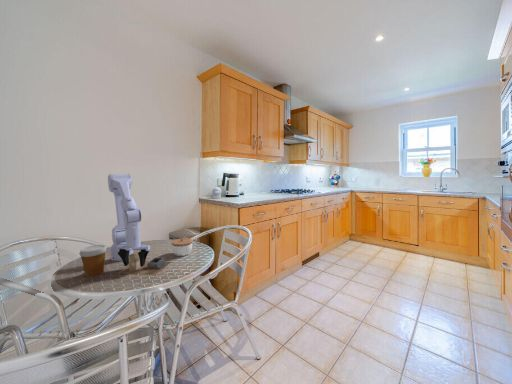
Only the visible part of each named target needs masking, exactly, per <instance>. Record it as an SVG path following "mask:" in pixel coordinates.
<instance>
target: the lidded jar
mask: <svg viewBox="0 0 512 384" xmlns="http://www.w3.org/2000/svg"><path fill="white" fill-rule="evenodd" d="M171 249H172V253H173V254H174V255H175V256H177V257H184V256H187V255H189V254H190V253H191V252H192V249H193V239H191V238H185V237H181V238H178V239H177V238H176V239H175V240H172V241H171Z"/></svg>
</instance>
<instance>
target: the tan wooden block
mask: <svg viewBox="0 0 512 384" xmlns="http://www.w3.org/2000/svg"><path fill="white" fill-rule="evenodd" d="M128 266H129V271H135V270H137V269H138V268H139V267H140V258H139V255H138V252H137V251H136V252H134V251H133V253H132V254H131V255H129V265H128Z"/></svg>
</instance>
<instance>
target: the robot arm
mask: <svg viewBox="0 0 512 384" xmlns="http://www.w3.org/2000/svg"><path fill="white" fill-rule="evenodd" d="M107 184H108V190H109V192H111V193H113V196H114V201H115V202H114V203H115V209H116V210H115V212H116V219H117V220H116V221H117V224H116V225H115V226H114V227H112V230H111V238H112V239H111V240H112V245H111V246H110V261H118V262H122V263H123V266H124V267H128V266H129V255H131V254H132V253H134V251H139V252H138V255H139V258H140V266H141V267H142V266H144V265H145V261H147V256H148V254H149V252H150V250H151V245H148V244H141V241H142V240H141V223H140V222H141V221H142V213H141V209H139V207H138V206H137V204H136V200H135V198H134V197H132V196H131V190H130V189H132V185H133V177H132V175H131V174H130V173H128V174H111V173H110V174H108V175H107Z"/></svg>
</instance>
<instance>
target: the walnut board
mask: <svg viewBox="0 0 512 384" xmlns="http://www.w3.org/2000/svg"><path fill="white" fill-rule="evenodd" d="M149 261H150V260H145V265H144V266H142V267H141V266H140V267H139V268H138V269H137V270H135V271H129V265H127V266H125V268H123V269H121V270H120V271H118V272H116V274H117V275H150V276H153V275H154V276H157V275H159V274H160V272H162V271H163V270H164V269H165V268H166V267H168V265H169V264H171V263H172V261H166V262H167V263H166V264H165V265H164V266H163V267H162V268H160V269H145V267H146V266H147V263H148V262H149Z"/></svg>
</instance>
